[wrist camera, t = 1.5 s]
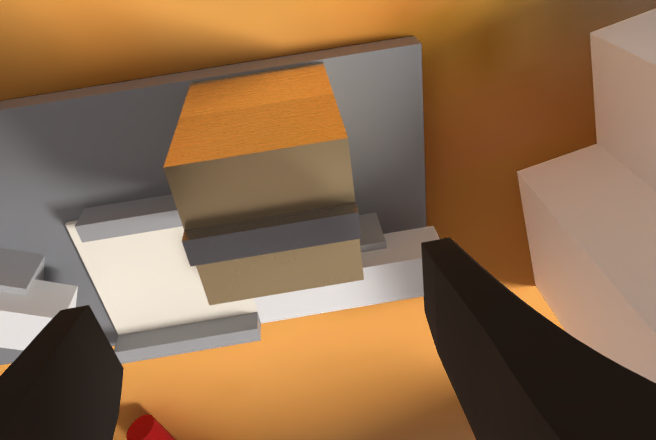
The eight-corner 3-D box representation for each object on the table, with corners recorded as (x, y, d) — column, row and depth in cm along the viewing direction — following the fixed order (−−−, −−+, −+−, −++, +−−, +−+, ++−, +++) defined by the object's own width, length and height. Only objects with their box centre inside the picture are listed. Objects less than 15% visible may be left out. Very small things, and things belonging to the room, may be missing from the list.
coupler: (323, 62, 18) (350, 146, 12) (338, 177, 20) (367, 291, 15) (190, 82, 18) (159, 177, 12) (221, 196, 20) (207, 318, 15)
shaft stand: (414, 35, 19) (447, 71, 15) (422, 278, 25) (447, 341, 21) (-139, 122, 18) (-225, 177, 15) (9, 347, 24) (-30, 422, 21)
